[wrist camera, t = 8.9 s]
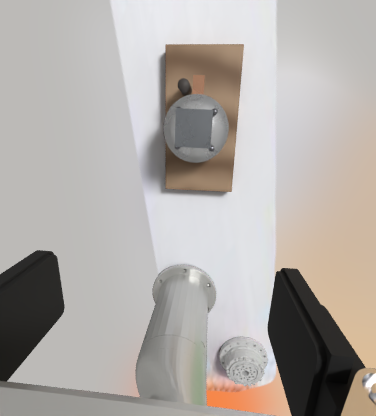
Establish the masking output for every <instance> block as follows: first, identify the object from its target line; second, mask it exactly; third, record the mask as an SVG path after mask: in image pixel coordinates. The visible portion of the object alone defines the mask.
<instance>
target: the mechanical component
mask: <svg viewBox="0 0 376 416" xmlns="http://www.w3.org/2000/svg"><path fill="white" fill-rule="evenodd" d="M219 356H220V363H221V365H222V367H223V368H224V369H225V370H226V372H227V376H228V377H229V379H231V380H232V381H234V382H235V384H243V385H244V386H246V385H248V386H251V384H252V385H255V383H256V382H258V381H261V380H262V377H263V374H264V369H265V367H266V365H267V361H268V359H267V354H266V351H265V348H264V347H263V345H262V344H260V343H259V342H258V341H256V340H254V339H252V338H248V337H237V338H233V339H230V340H228V341H227V342H225V343H224V344H223V346H222V347H221V349H220V354H219Z"/></svg>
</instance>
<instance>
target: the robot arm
mask: <svg viewBox="0 0 376 416" xmlns="http://www.w3.org/2000/svg"><path fill="white" fill-rule="evenodd" d="M153 298H154V301H155V303H156V305H155V308H154V311H153V314H152V317H151V320H150V323H149V326H148V329H147V332H146V335H145V338H144V341H143V344H142V347H141V350H140V353H139V356H138V360H137V364H136V383H137V388H138V392H139V395H140V398H139V397H132V396H123V395H115V394H106V393H99V392H90V391H82V390H74V389H65V388H57V387H48V386H40V385H32V384H23V383H14V382H7V380H8V379H9V378H10V377H11V376H12V374H13V373H14V372H15V371H16V370H17V368H18V367H19V366H20V365H21V364H22V362H23V361H24V360H25V359H26V358H27V356H28V355H29V354H30V353H31V352H32V350H33V349H34V348H35V347H36V346H37V344H38V343H39V342H40V341H41V339H42V338H43V337H44V336H45V335H46V334H47V332H48V331H49V330H50V329H51V328H52V326H53V325H54V324H55V323H56V322H57V320H58V319H59V318H60V317H61V315H62V314H63V312H64V300H63V294H62V287H61V280H60V273H59V267H58V261H57V256H56V255H54V253H53V252H51V251H40V250H39V251H38V250H37V251H35V252H34V253H32V254H30V255H29V256H28V257H26V258H24V259H23V260H21V261H20V262H18V263H17V264H15V265H14V266H12V267H11V268H9V269H8V270H6V271H5V272H3V273H2V274H0V416H274V415H266V414H260V413H253V412H246V411H239V410H233V409H226V408H218V407H210V406H207V397H206V369H207V319H208V313H209V312H210V311H211V309H212V308H213V306H214V304H215V300H216V290H215V286H214V283H213V281H212V280H211V278H210V277H209V276H208V275H207V274H206V273H205V272H204V271H202V270H201V269H199V268H196V267H194V266H190V265H175V266H171V267H169V268H167V269H165V270H164V271H162V272H161V273H160V274H159V275H158V277H157V279H156V280H155V283H154V286H153ZM268 335H269V339H270V342H271V346H272V349H273V353H274V356H275V359H276V363H277V366H278V370H279V373H280V377H281V380H282V384H283V387H284V390H285V394H286V398H287V401H288V405H289V408H290V412H291V415H292V416H376V369H374V368H365V366H364V364H363V363H362V361H361V360H360V358H359V357H358V355H357V354H356V353H355V351H354V349H353V348H352V346H351V345H350V344H349V342H348V340H347V339H346V337H345V336H344V335H343V333H342V332H341V330H340V328H339V327H338V326H337V324H336V322H335V321H334V320H333V318H332V316H331V315H330V313H329V312H328V310H327V309H326V308H325V307H324V306H323V305H321V304H320V303H319V301H318V300H317V298H316V297H315V295H314V293H313V292H312V291H311V289H310V288H309V286H308V284H307V283H306V281H305V280H304V278H303V277H302V275H301V274H300V272H299V270H298V269H290V268H289V269H288V268H282V269H281V271H277V272H276V276H275V282H274V289H273V295H272V301H271V308H270V314H269V321H268Z"/></svg>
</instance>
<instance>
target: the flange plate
mask: <svg viewBox="0 0 376 416" xmlns="http://www.w3.org/2000/svg"><path fill="white" fill-rule="evenodd" d="M204 85H205V75H193V89H192V94H191V95H187V96H184V97H182V98H180V99H179V100H177V101H176V102H175V103H174V104H173V105H172V106H171V107H170V109H169V110H168V112H167V114H166V117H165V121H164V137H165V140H166V143H167V145H168V147H169V148H170V150H171V151H172V152H173V153H174V154H175V155H176V156H177V157H179V158H180V159H182V160H184V161H188V162H193V163H199V162H204V161H207V160H209V159H211V158H213V157H214V156H216V155H217V154H218V153H219V152H220V151H221V149H222V148H223V146H224V145H225V143H226V140H227V137H228V132H229V124H228V119H227V116H226V113H225V111H224V109H223V108H222V106H221V105H220V104H219V103H218V102H217V101H216V100H214V99H213V98H211V97H209V96H206V95H204Z"/></svg>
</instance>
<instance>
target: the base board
mask: <svg viewBox="0 0 376 416" xmlns="http://www.w3.org/2000/svg"><path fill="white" fill-rule="evenodd" d="M243 49H244V44H184V45H166V114H167V112H168V110H169V109H170V107H171V106H172V105H173V104H174V103H175V102H176V101H177V100H179V99H180V98H182V97H184V96H187V95H191V94H192V89H193V75H205V85H204V95H206V96H209V97H211V98H213V99H214V100H216V101H217V102H218V103H219V104H220V105H221V106H222V108H223V109H224V111H225V113H226V116H227V119H228V124H229V132H228V137H227V140H226V143H225V145H224V146H223V148H222V149H221V151H220V152H219V153H218V154H217V155H216V156H214V157H213V158H211V159H209V160H207V161H204V162H199V163H193V162H188V161H184V160H182V159H180V158H179V157H177V156H176V155H175V154H174V153H173V152H172V151H171V150H170V148H169V147H168V145H167V143H166V189H182V190H203V191H223V192H231V191H232V179H233V168H234V156H235V144H236V132H237V120H238V108H239V96H240V84H241V72H242V61H243Z"/></svg>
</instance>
